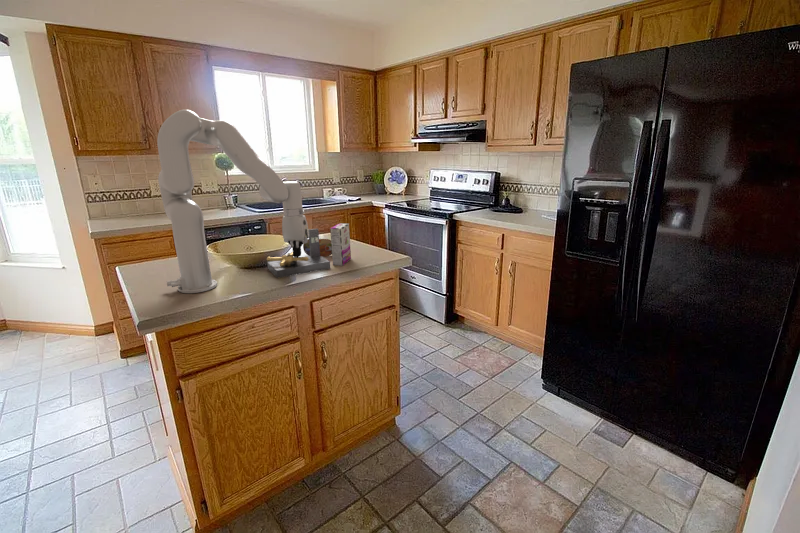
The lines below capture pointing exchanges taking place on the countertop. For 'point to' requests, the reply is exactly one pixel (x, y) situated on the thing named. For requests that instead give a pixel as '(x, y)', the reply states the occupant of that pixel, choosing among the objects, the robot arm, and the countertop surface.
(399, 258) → the countertop surface
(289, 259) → the capstan
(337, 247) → the candy bar box
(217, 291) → the countertop surface
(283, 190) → the robot arm
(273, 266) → the stand
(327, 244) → the tin
